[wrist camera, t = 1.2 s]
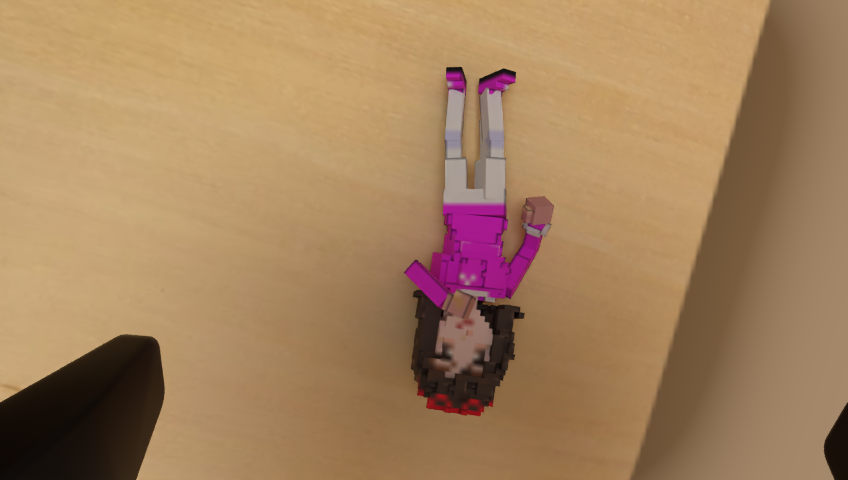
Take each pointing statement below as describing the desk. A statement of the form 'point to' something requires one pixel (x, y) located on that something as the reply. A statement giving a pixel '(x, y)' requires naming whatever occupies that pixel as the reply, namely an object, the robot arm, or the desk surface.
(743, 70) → the desk surface
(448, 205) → the character figurine
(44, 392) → the robot arm
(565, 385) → the desk surface
